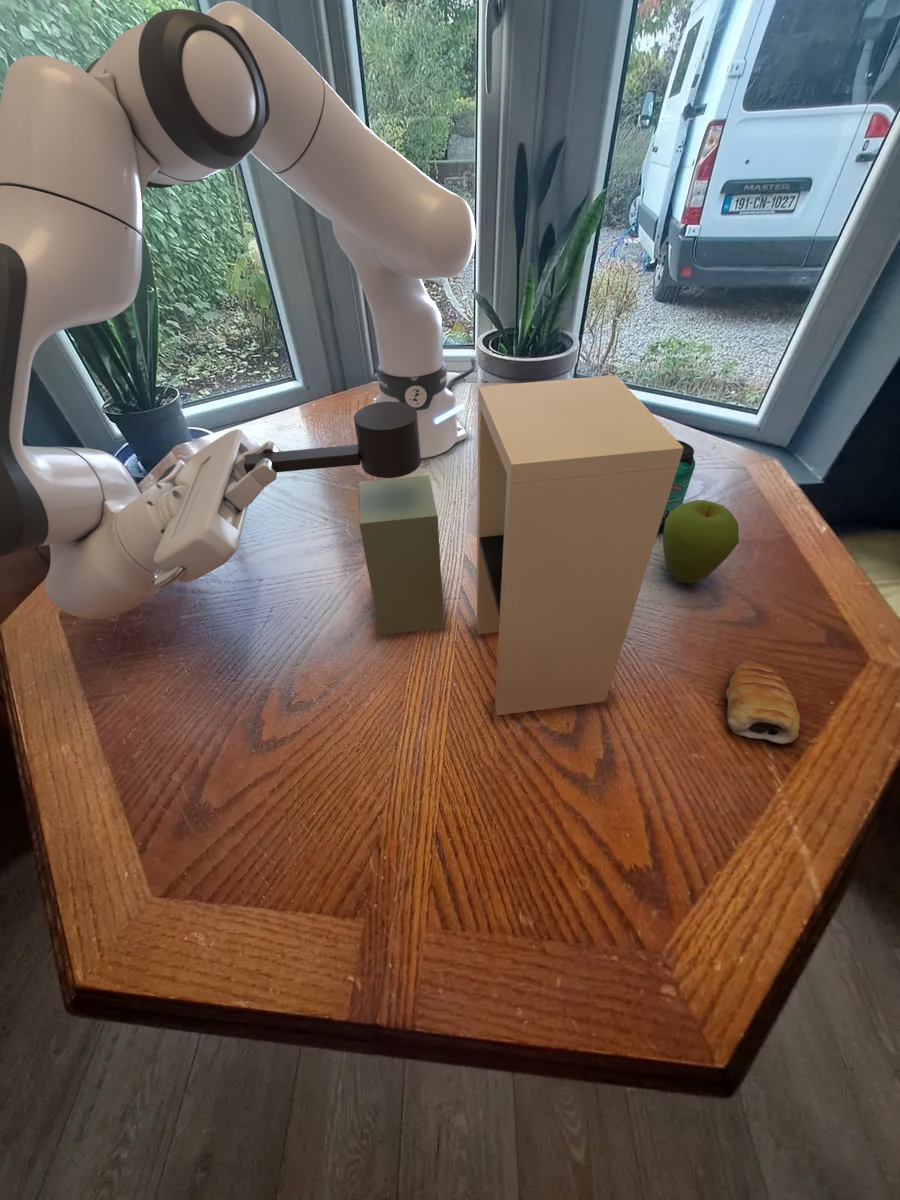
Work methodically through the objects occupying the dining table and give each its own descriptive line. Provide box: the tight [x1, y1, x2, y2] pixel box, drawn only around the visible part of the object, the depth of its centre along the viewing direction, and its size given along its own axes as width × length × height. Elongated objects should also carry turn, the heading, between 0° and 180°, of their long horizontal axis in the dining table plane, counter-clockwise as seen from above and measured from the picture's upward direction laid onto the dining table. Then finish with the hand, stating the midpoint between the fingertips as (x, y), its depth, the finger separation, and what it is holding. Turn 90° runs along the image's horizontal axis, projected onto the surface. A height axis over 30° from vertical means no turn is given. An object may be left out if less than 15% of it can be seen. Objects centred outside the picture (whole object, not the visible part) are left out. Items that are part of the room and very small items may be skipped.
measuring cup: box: [244, 402, 422, 479], centre depth 50 cm, size 6×17×5 cm, turn 98°
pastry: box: [725, 660, 801, 745], centre depth 54 cm, size 9×7×4 cm
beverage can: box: [658, 439, 696, 533], centre depth 75 cm, size 7×7×12 cm
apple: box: [662, 499, 740, 584], centre depth 66 cm, size 9×8×12 cm
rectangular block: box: [358, 474, 445, 636], centre depth 61 cm, size 8×8×17 cm
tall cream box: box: [476, 374, 684, 716], centre depth 50 cm, size 13×12×30 cm
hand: (274, 457), depth 51 cm, fingers closed on measuring cup
